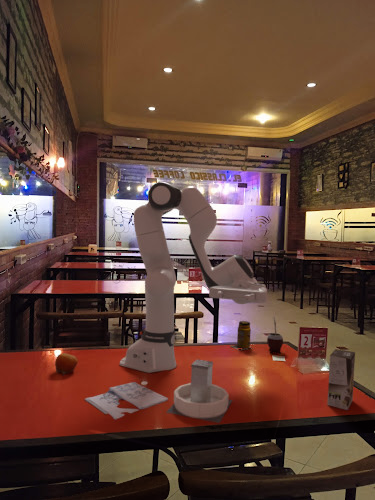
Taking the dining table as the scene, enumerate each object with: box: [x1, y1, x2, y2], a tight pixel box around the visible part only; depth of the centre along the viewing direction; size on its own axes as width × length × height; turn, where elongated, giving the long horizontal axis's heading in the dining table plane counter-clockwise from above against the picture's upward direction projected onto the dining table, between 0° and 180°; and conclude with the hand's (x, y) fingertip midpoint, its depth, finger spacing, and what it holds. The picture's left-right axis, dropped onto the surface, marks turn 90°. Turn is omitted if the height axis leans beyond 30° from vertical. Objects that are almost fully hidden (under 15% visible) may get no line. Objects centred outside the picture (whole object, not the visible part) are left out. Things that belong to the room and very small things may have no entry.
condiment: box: [230, 320, 252, 351], centre depth 183 cm, size 7×8×12 cm
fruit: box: [54, 352, 79, 375], centre depth 143 cm, size 8×8×8 cm
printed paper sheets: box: [84, 381, 169, 420], centre depth 121 cm, size 19×20×2 cm
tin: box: [190, 359, 214, 403], centre depth 117 cm, size 5×5×12 cm
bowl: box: [173, 382, 230, 420], centre depth 118 cm, size 16×16×4 cm
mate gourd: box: [266, 316, 284, 355], centre depth 178 cm, size 8×8×15 cm
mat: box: [166, 399, 233, 424], centre depth 118 cm, size 16×16×1 cm
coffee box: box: [326, 348, 356, 411], centre depth 125 cm, size 9×6×16 cm
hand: (233, 296), depth 130 cm, fingers open, 8 cm apart
